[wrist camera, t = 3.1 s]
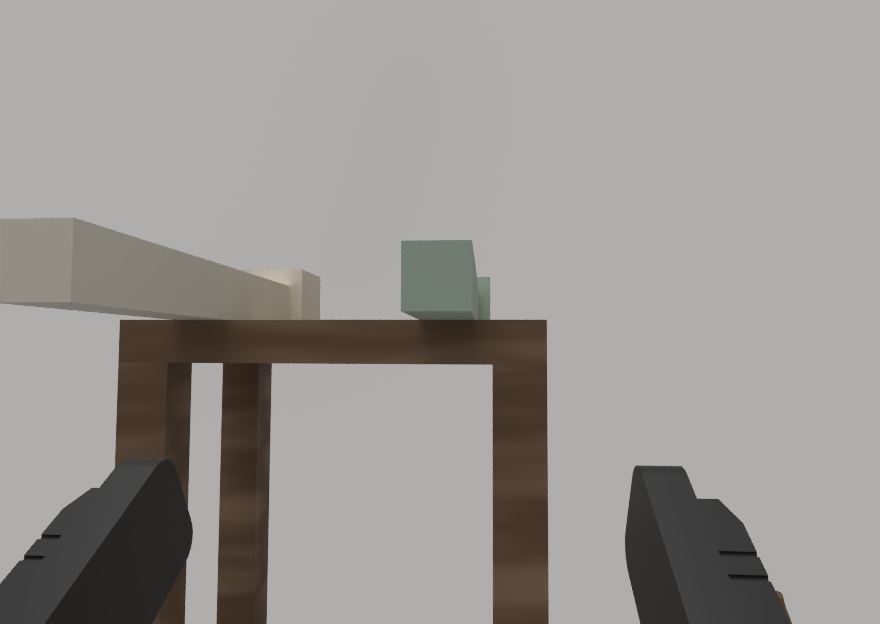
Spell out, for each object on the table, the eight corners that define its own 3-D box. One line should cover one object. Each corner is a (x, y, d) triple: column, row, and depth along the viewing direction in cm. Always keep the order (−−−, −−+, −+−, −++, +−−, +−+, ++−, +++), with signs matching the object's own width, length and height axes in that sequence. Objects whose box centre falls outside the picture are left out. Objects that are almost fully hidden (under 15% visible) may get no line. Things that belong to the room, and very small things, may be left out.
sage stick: (493, 310, 22) (493, 212, 22) (380, 311, 22) (380, 213, 23) (489, 331, 46) (489, 283, 46) (434, 331, 46) (434, 283, 46)
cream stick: (94, 302, 18) (98, 184, 19) (-33, 302, 19) (-27, 186, 19) (319, 329, 42) (320, 277, 43) (261, 329, 43) (262, 277, 43)
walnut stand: (551, 1086, 26) (546, 320, 28) (95, 1040, 28) (120, 320, 30) (531, 831, 40) (528, 329, 42) (227, 811, 42) (238, 329, 44)
